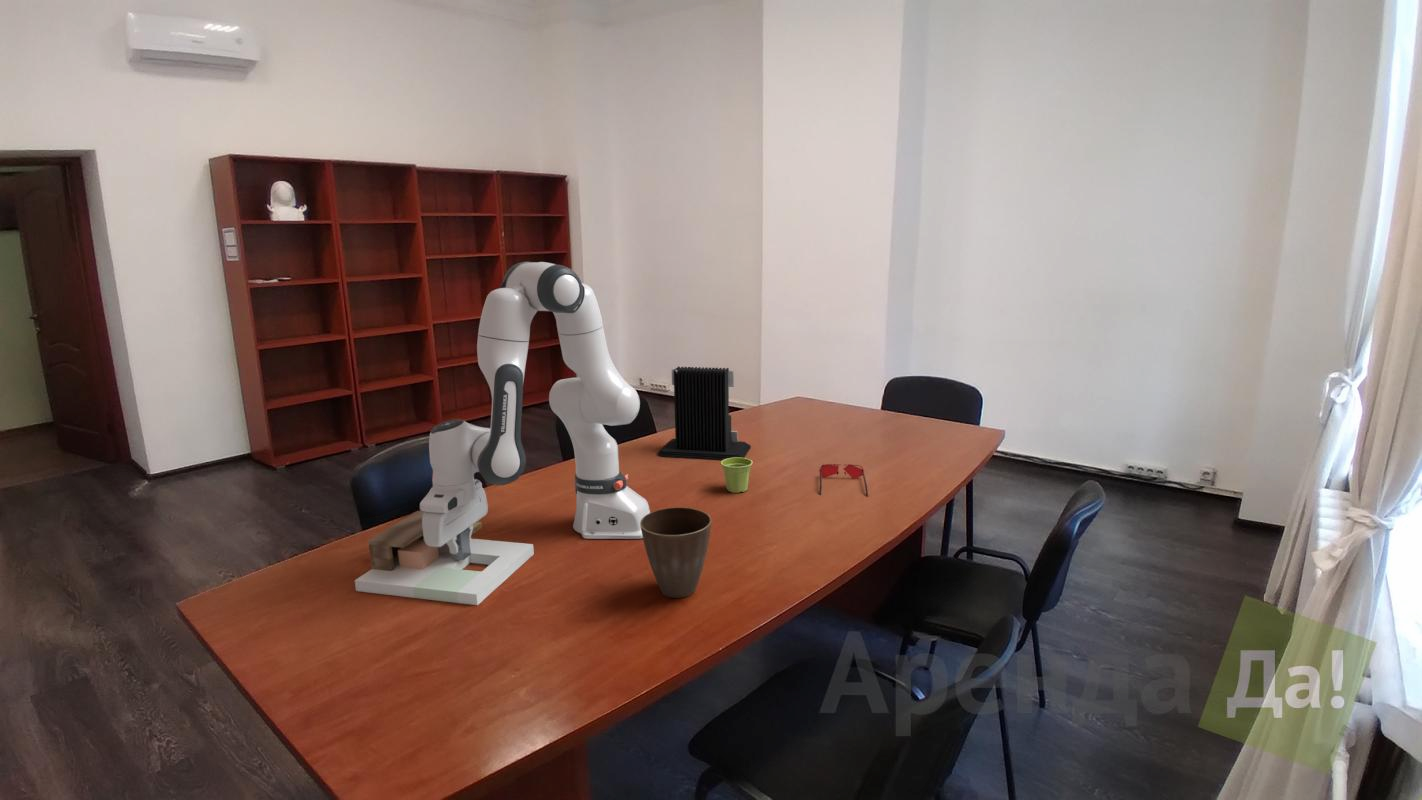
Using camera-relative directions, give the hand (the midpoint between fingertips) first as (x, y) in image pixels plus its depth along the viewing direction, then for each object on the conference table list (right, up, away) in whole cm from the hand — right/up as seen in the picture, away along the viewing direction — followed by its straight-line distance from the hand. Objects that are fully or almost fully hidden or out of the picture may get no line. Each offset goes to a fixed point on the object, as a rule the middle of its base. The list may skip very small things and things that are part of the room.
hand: (460, 548), depth 165 cm
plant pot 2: (+65, +7, +49) cm, 82 cm away
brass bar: (-5, -1, +20) cm, 21 cm away
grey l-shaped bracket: (-6, -2, 0) cm, 7 cm away
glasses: (+97, +8, +51) cm, 110 cm away
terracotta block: (-9, -3, -1) cm, 10 cm away
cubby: (-12, -2, +3) cm, 13 cm away
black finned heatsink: (+55, +16, +88) cm, 105 cm away
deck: (-3, -5, 0) cm, 6 cm away
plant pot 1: (+50, -7, -10) cm, 52 cm away
